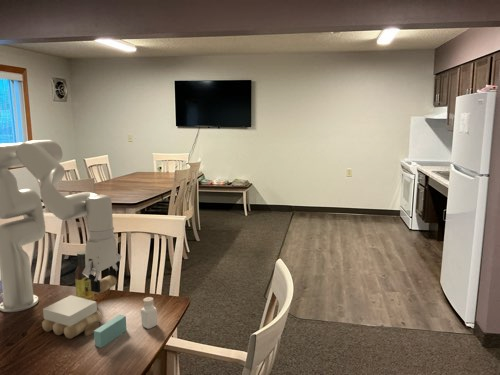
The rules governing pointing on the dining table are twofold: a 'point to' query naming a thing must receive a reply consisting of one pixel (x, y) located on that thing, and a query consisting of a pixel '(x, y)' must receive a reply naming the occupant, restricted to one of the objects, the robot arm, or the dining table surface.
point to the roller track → (74, 326)
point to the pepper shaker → (148, 313)
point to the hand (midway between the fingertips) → (104, 286)
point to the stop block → (110, 330)
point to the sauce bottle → (82, 279)
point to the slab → (70, 310)
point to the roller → (107, 283)
